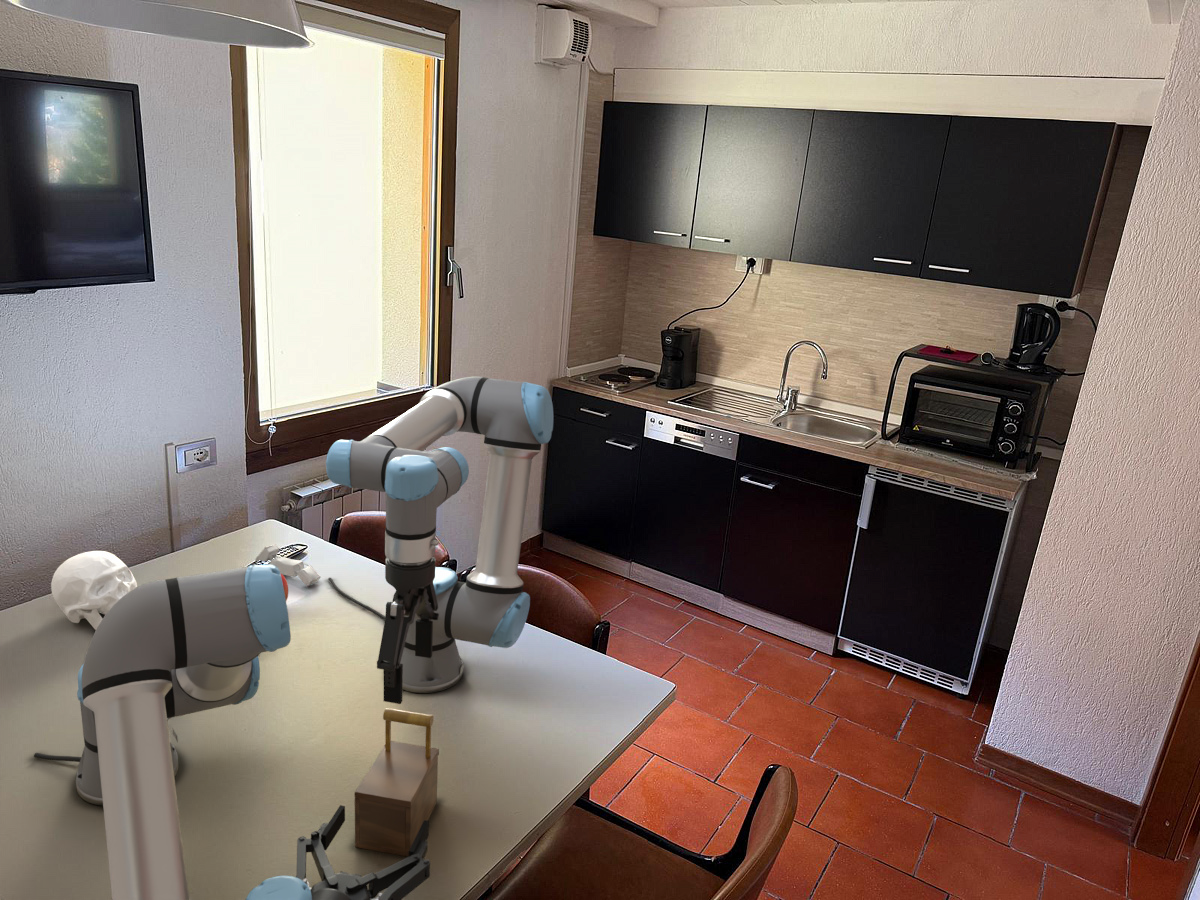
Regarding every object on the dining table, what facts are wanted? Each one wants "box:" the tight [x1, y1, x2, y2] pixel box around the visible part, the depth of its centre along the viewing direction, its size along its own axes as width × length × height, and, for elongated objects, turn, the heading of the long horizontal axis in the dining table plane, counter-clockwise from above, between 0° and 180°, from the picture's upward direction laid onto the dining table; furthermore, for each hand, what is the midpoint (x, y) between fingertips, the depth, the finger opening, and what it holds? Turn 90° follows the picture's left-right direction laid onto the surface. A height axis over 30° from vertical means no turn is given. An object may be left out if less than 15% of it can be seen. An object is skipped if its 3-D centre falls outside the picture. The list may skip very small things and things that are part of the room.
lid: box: [354, 707, 440, 807], centre depth 136 cm, size 13×9×9 cm
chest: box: [354, 756, 439, 857], centre depth 139 cm, size 13×9×9 cm
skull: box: [50, 550, 138, 631], centre depth 191 cm, size 13×22×16 cm, turn 73°
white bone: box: [254, 544, 322, 587], centre depth 219 cm, size 20×4×7 cm, turn 62°
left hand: (384, 820), depth 132 cm, fingers open, 13 cm apart
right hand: (409, 677), depth 137 cm, fingers open, 13 cm apart
